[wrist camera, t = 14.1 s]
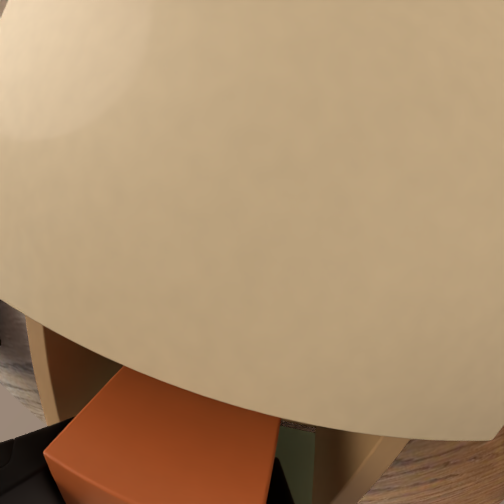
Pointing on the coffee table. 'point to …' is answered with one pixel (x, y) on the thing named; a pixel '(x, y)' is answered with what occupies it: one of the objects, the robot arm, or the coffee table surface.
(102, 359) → the drawer
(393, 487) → the coffee table surface
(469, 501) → the coffee table surface
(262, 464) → the block
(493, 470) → the coffee table surface
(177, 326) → the cabinet
